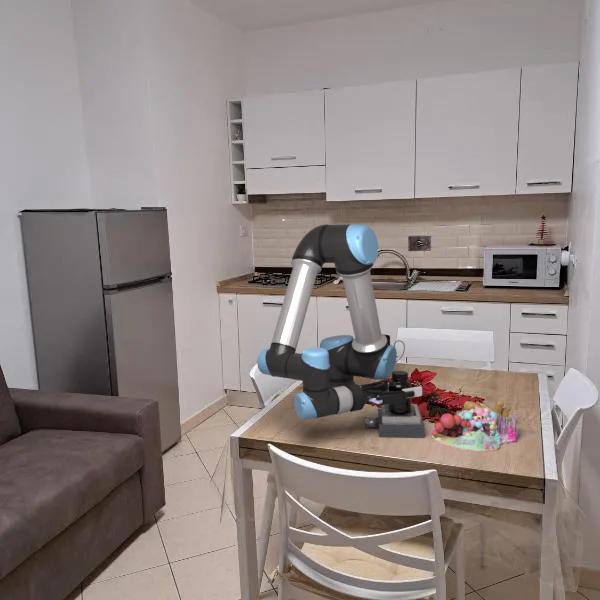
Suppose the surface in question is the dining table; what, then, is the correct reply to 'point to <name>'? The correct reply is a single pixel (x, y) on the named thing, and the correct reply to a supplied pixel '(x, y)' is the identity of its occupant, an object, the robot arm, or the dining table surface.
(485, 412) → the candy landscape model
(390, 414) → the block
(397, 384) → the supplement bottle
